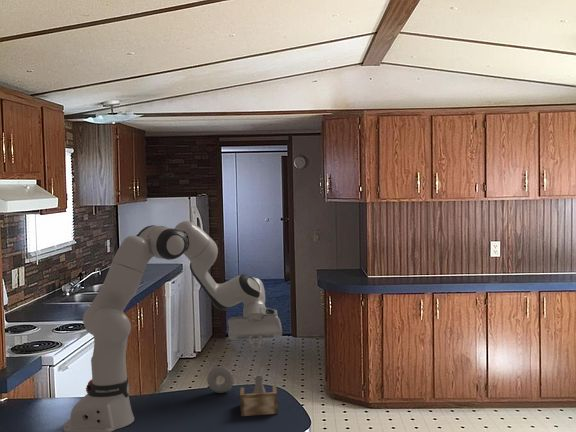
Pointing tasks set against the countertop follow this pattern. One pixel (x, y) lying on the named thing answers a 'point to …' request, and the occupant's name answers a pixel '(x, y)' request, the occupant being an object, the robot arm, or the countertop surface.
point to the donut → (214, 384)
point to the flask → (259, 385)
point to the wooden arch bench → (258, 403)
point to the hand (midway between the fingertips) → (255, 347)
